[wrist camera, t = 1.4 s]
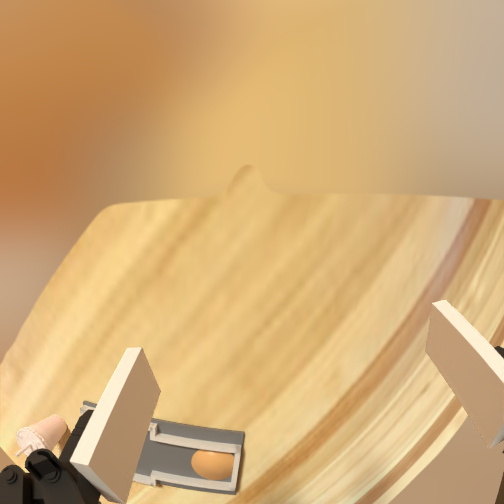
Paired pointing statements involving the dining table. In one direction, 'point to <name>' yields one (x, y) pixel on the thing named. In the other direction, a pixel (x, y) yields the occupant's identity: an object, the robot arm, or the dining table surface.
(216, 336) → the dining table surface
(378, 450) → the dining table surface
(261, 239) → the dining table surface
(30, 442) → the smoothie
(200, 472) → the keyhole plate
